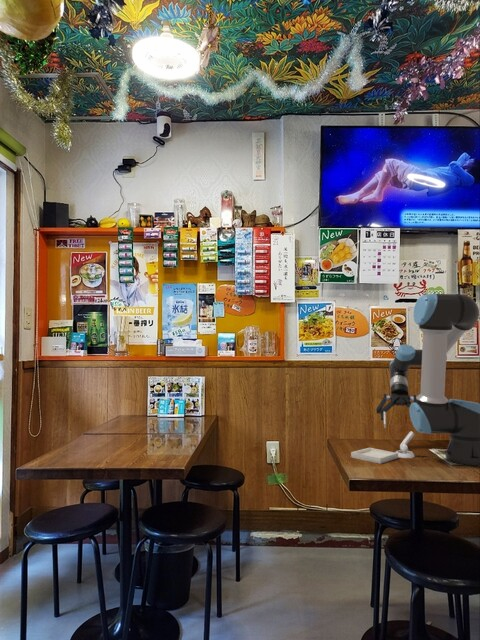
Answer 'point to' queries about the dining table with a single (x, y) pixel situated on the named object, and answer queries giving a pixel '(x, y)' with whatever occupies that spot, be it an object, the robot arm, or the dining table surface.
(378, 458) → the tray
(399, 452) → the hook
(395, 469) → the dining table surface
